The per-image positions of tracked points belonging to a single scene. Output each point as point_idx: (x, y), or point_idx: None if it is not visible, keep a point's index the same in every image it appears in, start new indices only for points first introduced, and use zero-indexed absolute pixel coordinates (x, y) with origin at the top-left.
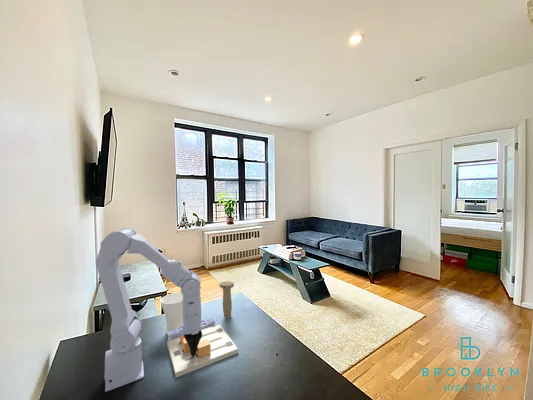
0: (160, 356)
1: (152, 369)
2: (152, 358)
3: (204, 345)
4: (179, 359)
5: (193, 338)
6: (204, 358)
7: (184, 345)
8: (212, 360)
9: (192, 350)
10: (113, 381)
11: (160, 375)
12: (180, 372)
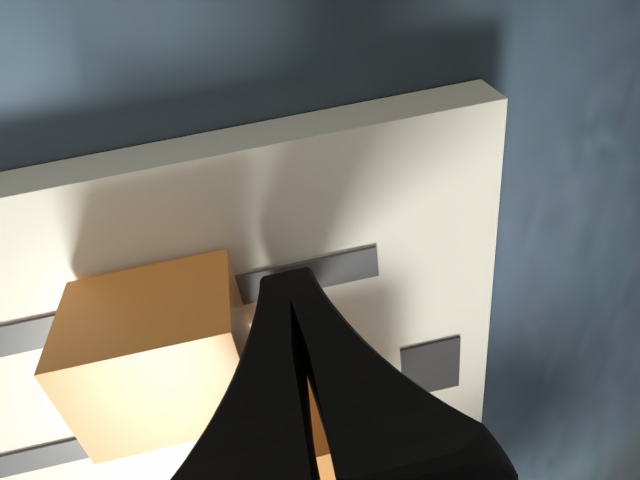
0: (529, 375)
1: (620, 261)
2: (583, 369)
3: (134, 365)
4: (426, 285)
5: (351, 477)
6: (150, 221)
7: None
8: (42, 178)
9: (316, 313)
10: None
11: (591, 170)
12: (445, 101)
